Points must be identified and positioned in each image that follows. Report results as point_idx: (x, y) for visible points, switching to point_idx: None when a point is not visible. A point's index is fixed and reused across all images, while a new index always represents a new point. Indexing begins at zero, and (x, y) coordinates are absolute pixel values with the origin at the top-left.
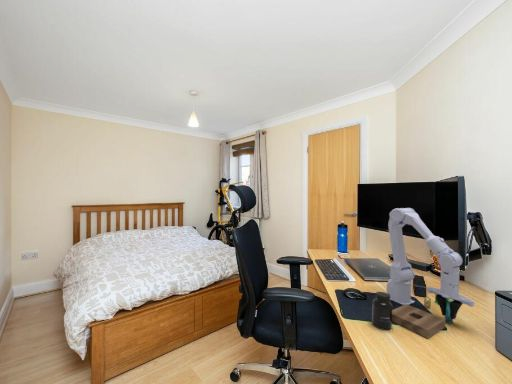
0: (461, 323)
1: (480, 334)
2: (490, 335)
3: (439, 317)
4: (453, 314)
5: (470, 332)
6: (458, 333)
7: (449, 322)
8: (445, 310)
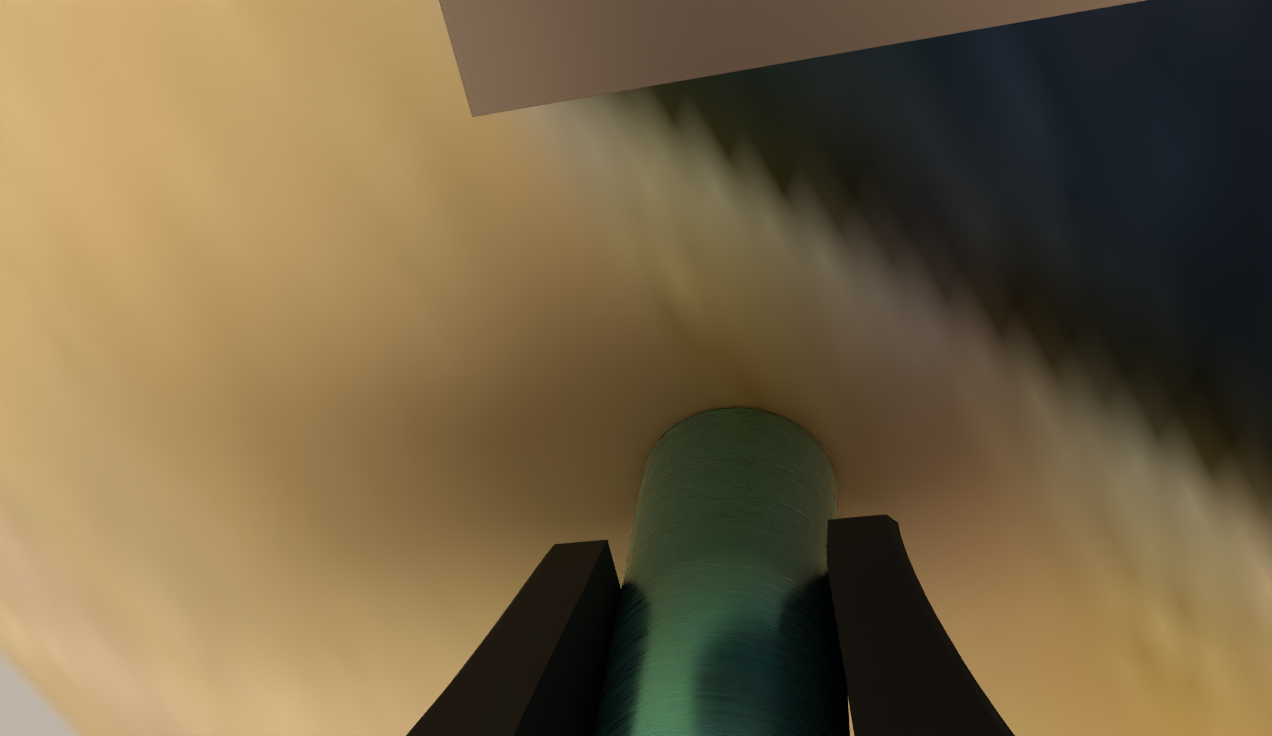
0: None
1: (84, 560)
2: (38, 692)
3: (695, 54)
4: (473, 657)
5: (182, 447)
6: (170, 65)
7: (669, 436)
8: (793, 699)
